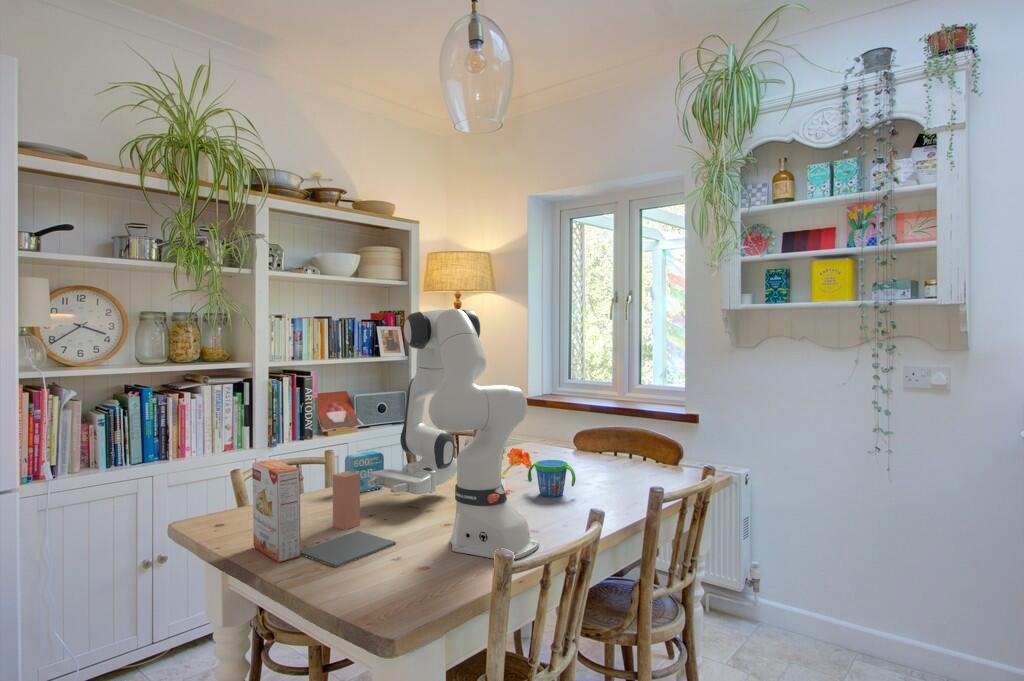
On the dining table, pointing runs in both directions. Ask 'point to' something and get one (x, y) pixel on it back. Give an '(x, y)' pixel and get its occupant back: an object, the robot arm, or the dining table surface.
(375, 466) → the data package
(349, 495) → the block
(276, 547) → the cracker box
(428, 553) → the dining table surface
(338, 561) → the mat
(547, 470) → the snack cup
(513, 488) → the dining table surface
